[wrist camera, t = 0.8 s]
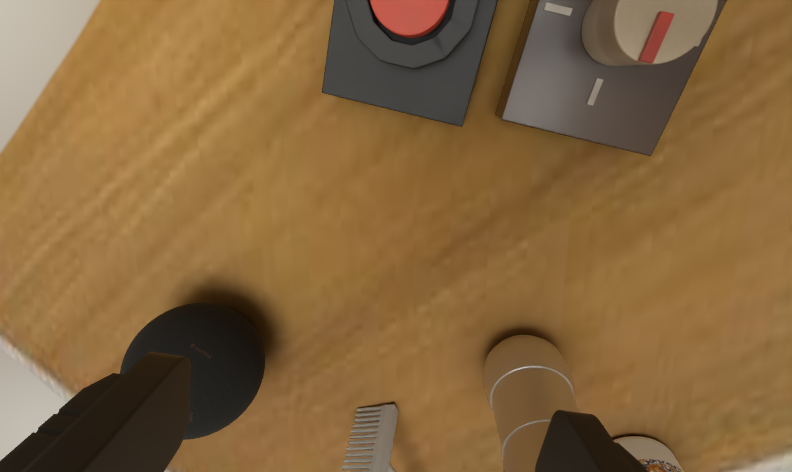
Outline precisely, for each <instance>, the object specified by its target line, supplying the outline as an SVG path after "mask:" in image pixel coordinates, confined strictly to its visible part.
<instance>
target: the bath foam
mask: <svg viewBox="0 0 792 472" xmlns="http://www.w3.org/2000/svg"><path fill="white" fill-rule="evenodd" d="M613 441H614V442H615V443H619V444H620V445H621V446H623V447H624V448H625V449H626V450H627V451H628V452H629V453H630V454H632V455H633V456H634V457H635V458H636V459H637V460H638V461H639V462H640V463H642V464H643V466H644V467H645V468H646V470H647V471H648V472H684V471H683V470H682V468H681V466H680V465H679V463H678V461H677V460H676V458H675V456H674V455H673V453H672V452H671V451H670V450H669V449H668V448H667V447H666V446H665V445H663V444H662V443H660V442H658V441H656V440H654V439H651V438H647V437H641V436H628V437H622V438H618V439H615V440H613Z"/></svg>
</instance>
